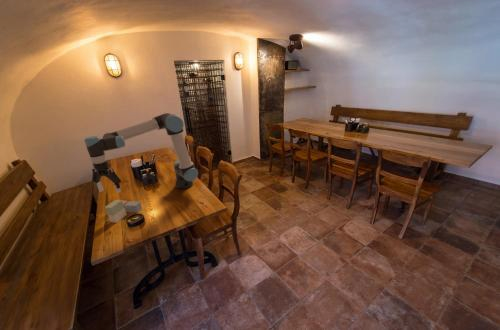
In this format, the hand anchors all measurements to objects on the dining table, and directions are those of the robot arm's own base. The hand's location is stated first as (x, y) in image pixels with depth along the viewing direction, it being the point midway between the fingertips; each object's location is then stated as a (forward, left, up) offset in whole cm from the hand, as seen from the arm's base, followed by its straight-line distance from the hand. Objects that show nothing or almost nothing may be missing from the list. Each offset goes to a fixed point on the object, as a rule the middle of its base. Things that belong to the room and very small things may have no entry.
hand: (110, 191), depth 134 cm
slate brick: (-4, -10, -21) cm, 23 cm away
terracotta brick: (+6, -10, -21) cm, 24 cm away
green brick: (0, +1, -15) cm, 15 cm away
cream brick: (0, +1, -21) cm, 21 cm away
